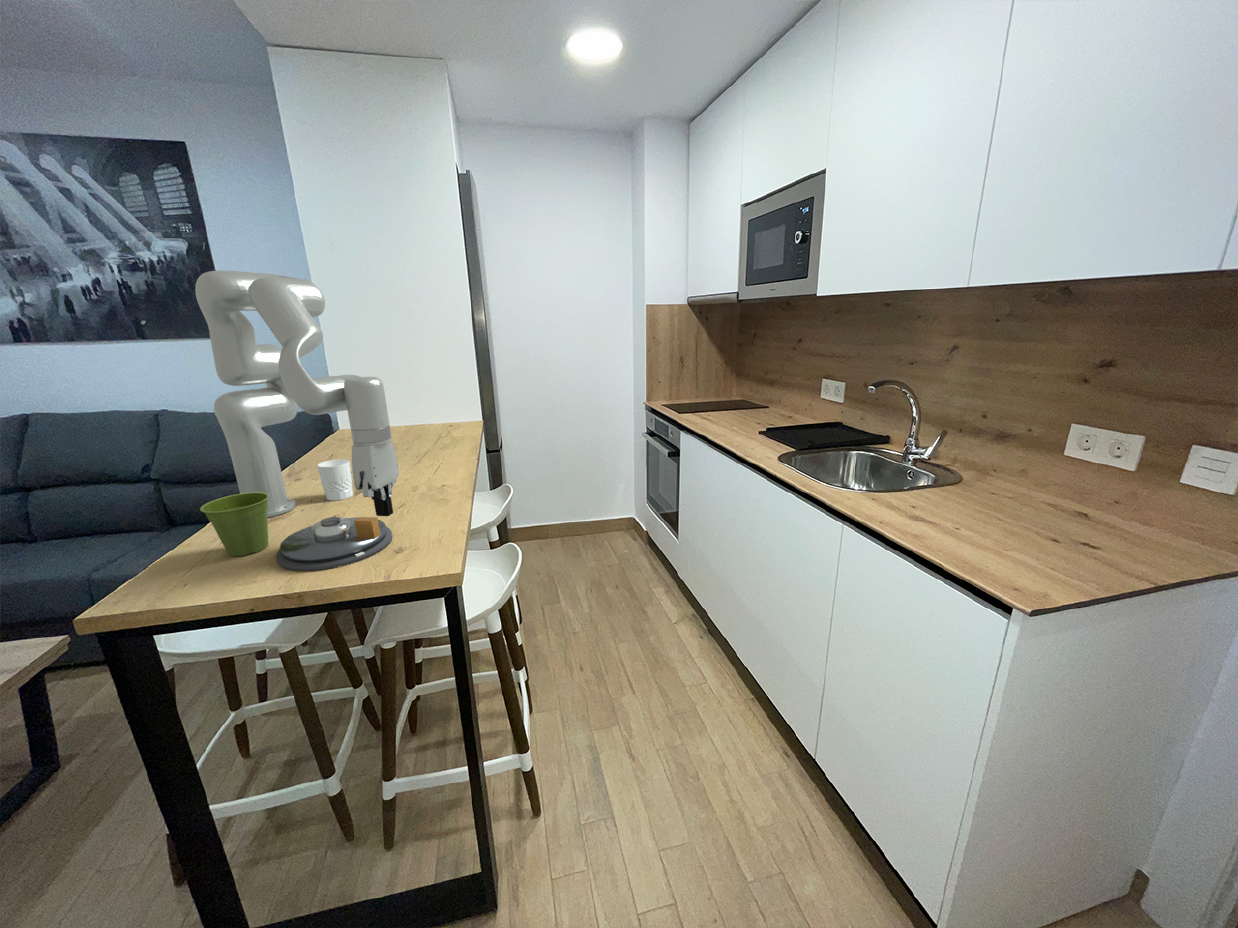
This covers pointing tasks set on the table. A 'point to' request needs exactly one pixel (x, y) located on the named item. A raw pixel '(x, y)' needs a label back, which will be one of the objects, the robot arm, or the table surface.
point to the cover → (331, 529)
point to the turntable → (309, 551)
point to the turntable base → (338, 562)
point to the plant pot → (240, 521)
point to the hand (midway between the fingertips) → (384, 514)
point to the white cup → (336, 479)
